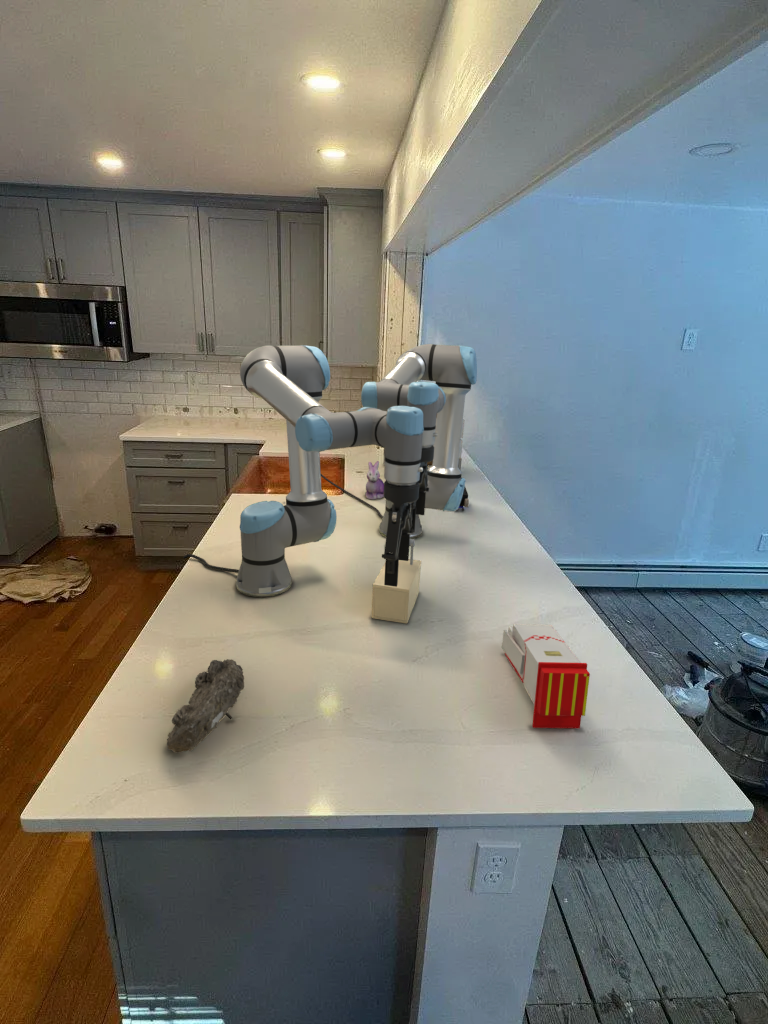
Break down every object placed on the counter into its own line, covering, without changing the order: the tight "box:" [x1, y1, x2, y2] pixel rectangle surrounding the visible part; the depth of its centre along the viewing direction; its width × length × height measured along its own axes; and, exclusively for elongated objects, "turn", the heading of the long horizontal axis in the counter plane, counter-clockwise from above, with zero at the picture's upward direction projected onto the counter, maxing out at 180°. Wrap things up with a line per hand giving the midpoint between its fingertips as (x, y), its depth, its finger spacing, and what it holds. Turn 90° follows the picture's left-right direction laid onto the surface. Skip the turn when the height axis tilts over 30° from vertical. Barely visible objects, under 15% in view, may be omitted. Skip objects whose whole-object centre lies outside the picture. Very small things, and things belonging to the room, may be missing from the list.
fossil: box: [166, 658, 245, 754], centre depth 106 cm, size 22×10×15 cm
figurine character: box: [455, 486, 470, 512], centre depth 229 cm, size 7×8×15 cm
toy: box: [501, 623, 591, 729], centre depth 120 cm, size 12×13×30 cm
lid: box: [372, 538, 422, 592], centre depth 148 cm, size 18×9×8 cm, turn 167°
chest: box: [370, 564, 422, 625], centre depth 151 cm, size 17×9×9 cm, turn 167°
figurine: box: [364, 460, 384, 500], centre depth 235 cm, size 9×10×15 cm
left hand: (397, 572), depth 127 cm, fingers open, 13 cm apart
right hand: (414, 522), depth 151 cm, fingers open, 13 cm apart
